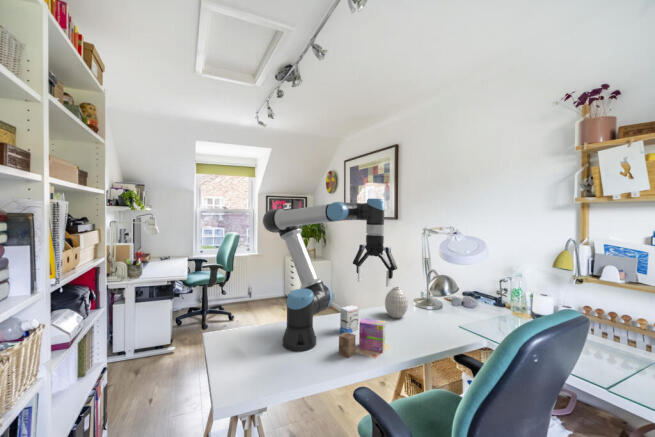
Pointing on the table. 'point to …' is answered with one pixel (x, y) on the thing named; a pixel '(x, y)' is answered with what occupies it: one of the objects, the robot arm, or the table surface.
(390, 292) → the vase
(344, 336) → the block
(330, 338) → the table surface
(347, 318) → the ink box
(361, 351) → the letter
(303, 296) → the robot arm
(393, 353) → the table surface
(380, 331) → the box
